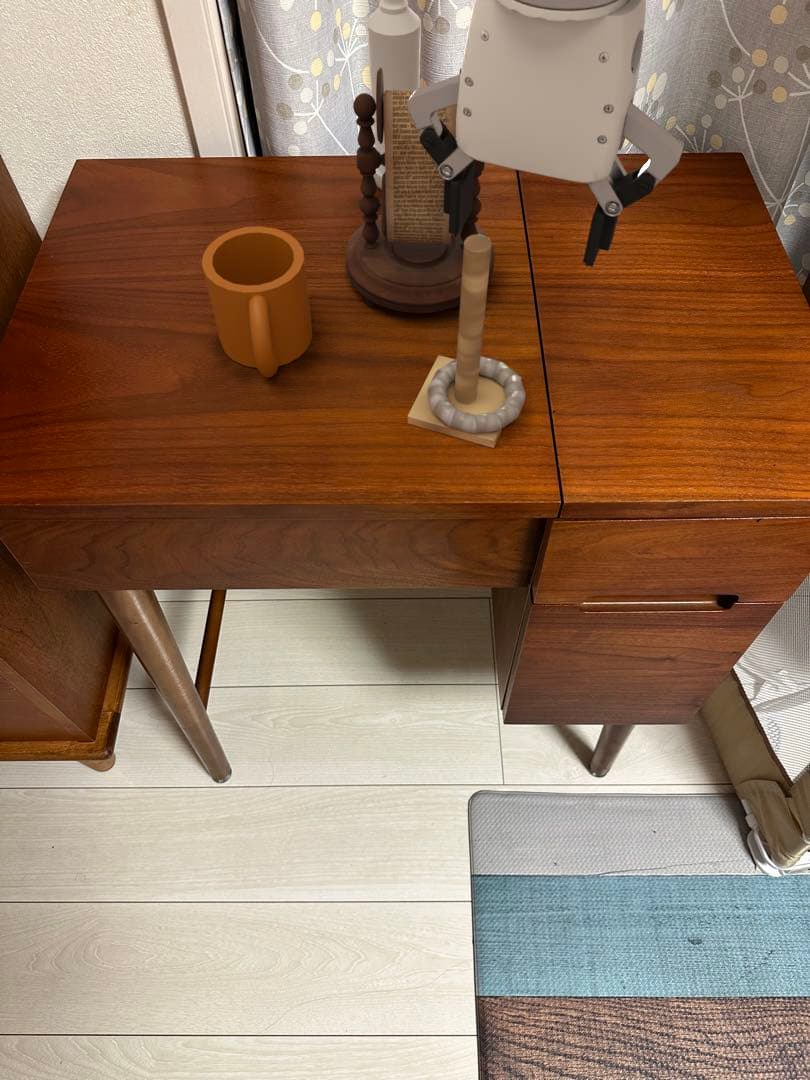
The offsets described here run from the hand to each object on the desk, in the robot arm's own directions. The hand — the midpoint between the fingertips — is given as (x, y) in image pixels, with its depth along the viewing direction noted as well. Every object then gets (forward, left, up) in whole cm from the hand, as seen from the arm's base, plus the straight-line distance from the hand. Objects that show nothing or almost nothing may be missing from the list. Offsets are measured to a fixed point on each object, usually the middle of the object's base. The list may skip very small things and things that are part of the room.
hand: (525, 238), depth 57 cm
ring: (+2, 0, -16) cm, 17 cm away
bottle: (+21, -29, -18) cm, 41 cm away
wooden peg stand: (+3, 0, -18) cm, 19 cm away
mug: (+23, 0, -18) cm, 30 cm away
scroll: (+13, -15, -18) cm, 27 cm away
